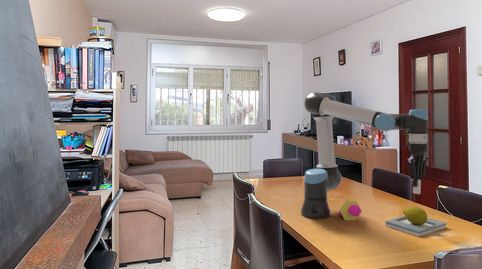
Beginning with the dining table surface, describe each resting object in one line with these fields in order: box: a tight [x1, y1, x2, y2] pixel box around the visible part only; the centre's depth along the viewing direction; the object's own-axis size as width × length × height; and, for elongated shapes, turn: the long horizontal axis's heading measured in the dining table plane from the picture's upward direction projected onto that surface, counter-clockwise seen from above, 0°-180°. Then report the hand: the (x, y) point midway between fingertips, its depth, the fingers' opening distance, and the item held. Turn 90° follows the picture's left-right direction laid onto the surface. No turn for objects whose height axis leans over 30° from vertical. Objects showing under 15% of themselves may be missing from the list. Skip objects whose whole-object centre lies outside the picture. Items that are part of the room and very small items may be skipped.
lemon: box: [403, 206, 428, 225], centre depth 149 cm, size 11×8×8 cm
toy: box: [338, 200, 363, 221], centre depth 160 cm, size 10×18×10 cm, turn 3°
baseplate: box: [384, 215, 447, 237], centre depth 149 cm, size 22×16×2 cm
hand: (416, 193), depth 148 cm, fingers closed
